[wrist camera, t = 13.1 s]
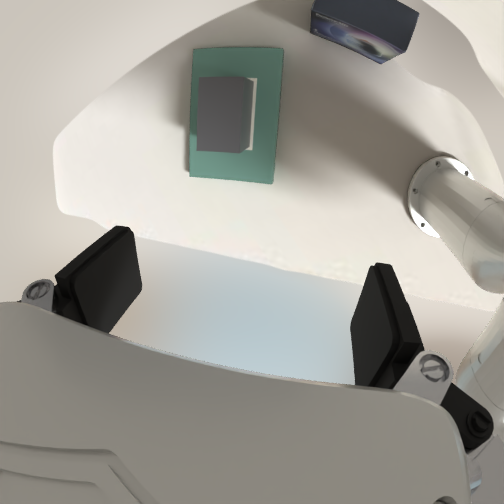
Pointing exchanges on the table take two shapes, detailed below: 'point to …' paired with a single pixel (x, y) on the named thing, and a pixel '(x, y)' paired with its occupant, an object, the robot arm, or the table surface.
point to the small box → (365, 26)
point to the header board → (263, 112)
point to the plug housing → (224, 114)
